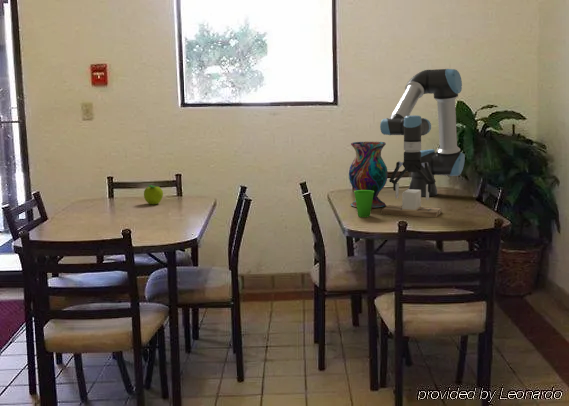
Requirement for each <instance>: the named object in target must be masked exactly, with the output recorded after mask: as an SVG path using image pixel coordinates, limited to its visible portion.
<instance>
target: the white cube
mask: <svg viewBox="0 0 569 406" xmlns="http://www.w3.org/2000/svg"><path fill="white" fill-rule="evenodd" d="M401 199H402V201H401V204H402V205H401V206H402V210H403V211H417V210H418V209H419V208H421V207H422V196H421V190H414V189H406V190H404V191H402V195H401Z"/></svg>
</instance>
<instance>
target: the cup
mask: <svg viewBox="0 0 569 406" xmlns="http://www.w3.org/2000/svg"><path fill="white" fill-rule="evenodd" d="M353 193H354V198H355V199H354V200H355V201H356V205H357V207H356V211H357V216H358V217H359V218H370V217H371V212H372V208H371V207H372V200H373V194H374V191H372V190H354V191H353Z"/></svg>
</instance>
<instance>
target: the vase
mask: <svg viewBox="0 0 569 406" xmlns="http://www.w3.org/2000/svg"><path fill="white" fill-rule="evenodd" d="M350 146H351V147H352V148H353V149H354V151H355V156H354V159H353V161H352V162H351V164H350V166H349V170H348V178H349V179H348V180H349V183H350V185H351V186H352V188H353V189H354V191H356V190H372V191H374V194H373V200H372V207H371V209H374V208H375V209H376V208H381V207H386V205H387V204H386V203H385V202H384V201H382V200H381V199H380V198H379V197H378V195H379V194H380V192H381V191H382V190H383V189H384V187H385V186H386V185H387V181H388V178H389V177H388V175H389V172H388V167H387V164H386V163H385V161H384V159H383V157H382V150H383V149H384V147H385V146H386V142H384V141H355V142H351V143H350ZM350 206H352V207H354V208H357V205H356V200H354V201H353V202H351V203H350Z"/></svg>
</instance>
